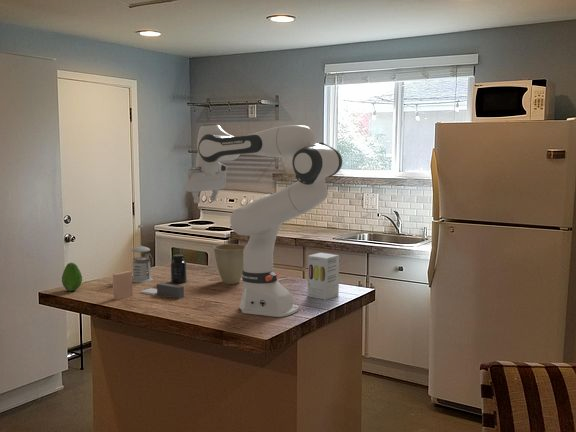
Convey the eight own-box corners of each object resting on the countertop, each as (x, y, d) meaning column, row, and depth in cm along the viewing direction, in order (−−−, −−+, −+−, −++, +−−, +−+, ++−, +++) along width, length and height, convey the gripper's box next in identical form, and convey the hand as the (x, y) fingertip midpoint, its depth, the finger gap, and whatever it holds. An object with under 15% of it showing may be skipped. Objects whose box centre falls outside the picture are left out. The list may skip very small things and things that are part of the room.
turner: (186, 296, 238) (186, 285, 238) (176, 299, 233) (176, 288, 233) (150, 289, 249) (150, 279, 248) (140, 292, 244) (139, 282, 243)
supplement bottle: (189, 281, 264) (189, 254, 263) (179, 284, 258) (178, 257, 257) (178, 279, 268) (177, 253, 266) (167, 282, 262) (167, 255, 261)
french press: (143, 276, 274) (141, 222, 271) (160, 279, 267) (159, 224, 264) (126, 280, 266) (124, 225, 263) (143, 283, 259) (141, 227, 256)
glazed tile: (132, 295, 239) (131, 271, 238) (117, 299, 233) (116, 274, 231) (128, 294, 240) (127, 270, 239) (113, 299, 234) (112, 274, 233)
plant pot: (208, 284, 258) (208, 248, 256) (222, 277, 272) (222, 243, 270) (240, 287, 253) (239, 250, 251) (253, 279, 267) (252, 244, 265)
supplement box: (306, 296, 238) (307, 255, 236) (319, 292, 245) (320, 251, 243) (326, 300, 232) (327, 258, 230) (339, 295, 239) (339, 254, 237)
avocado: (66, 294, 241) (65, 265, 240) (59, 290, 247) (58, 262, 246) (85, 290, 247) (84, 262, 245) (78, 287, 253) (77, 259, 251)
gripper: (195, 168, 218) (192, 205, 220) (230, 166, 235) (227, 200, 237) (182, 166, 221) (180, 202, 223) (217, 164, 238) (215, 198, 240)
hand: (204, 201), depth 230 cm, fingers open, 8 cm apart
